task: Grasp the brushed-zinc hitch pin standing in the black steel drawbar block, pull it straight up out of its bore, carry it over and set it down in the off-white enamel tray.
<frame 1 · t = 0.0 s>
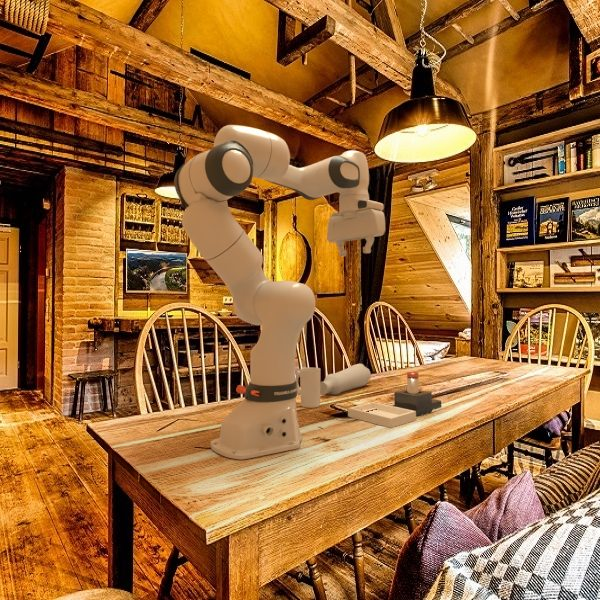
hand: (354, 254, 124), 48 cm above the table, fingers open, 8 cm apart
tray: (381, 418, 122), on the table
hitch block: (413, 411, 129), on the table
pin: (412, 392, 129), in the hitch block
bottle: (343, 391, 161), on the table
mug: (306, 405, 139), on the table
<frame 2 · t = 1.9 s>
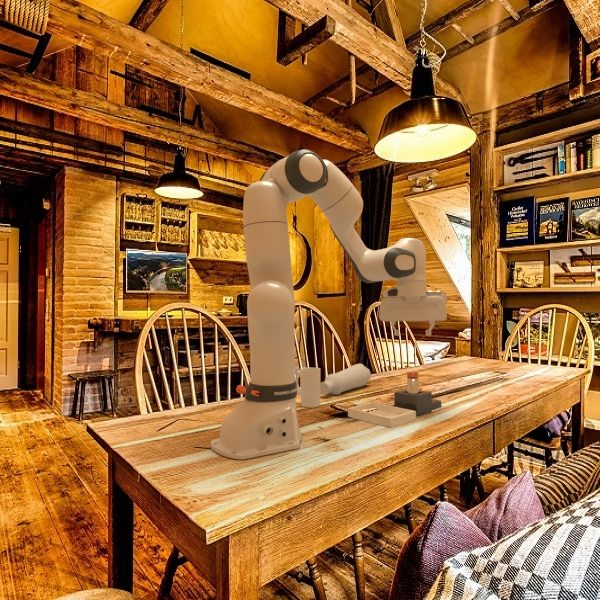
hand: (412, 335, 129), 23 cm above the table, fingers open, 8 cm apart
nothing on the table moved.
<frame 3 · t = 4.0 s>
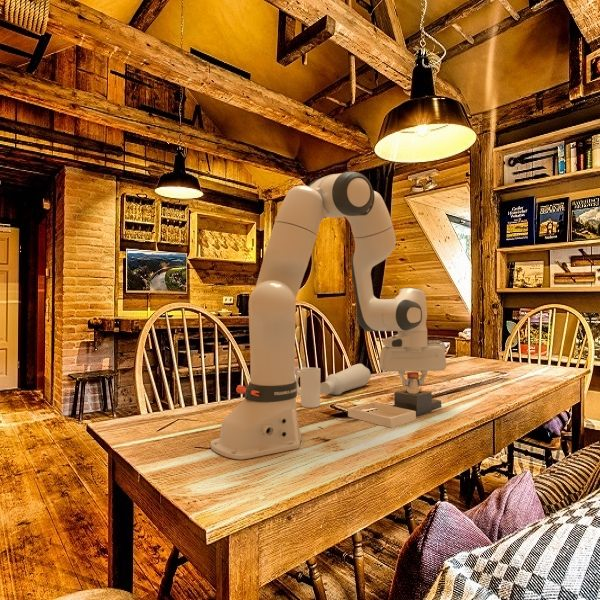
hand: (412, 385, 129), 8 cm above the table, fingers closed on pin, 3 cm apart
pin: (412, 392, 129), in the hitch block, touching gripper
everything else where it was.
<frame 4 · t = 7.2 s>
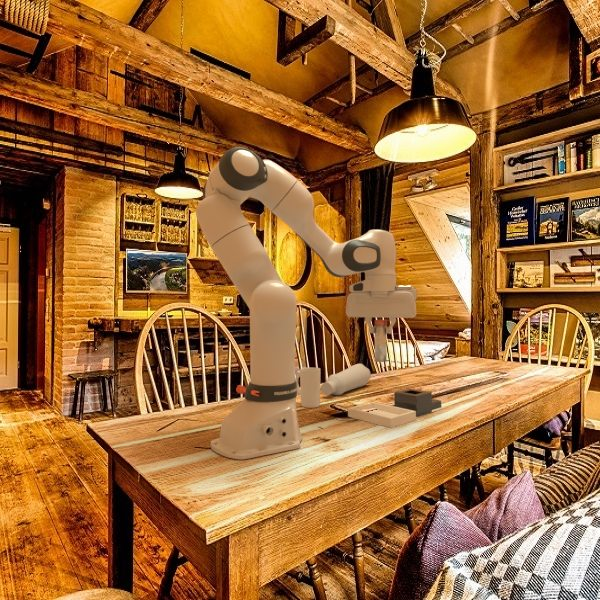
hand: (380, 333, 122), 25 cm above the table, fingers closed on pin, 3 cm apart
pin: (380, 340, 122), point 23 cm above the table, touching gripper
everything else where it was.
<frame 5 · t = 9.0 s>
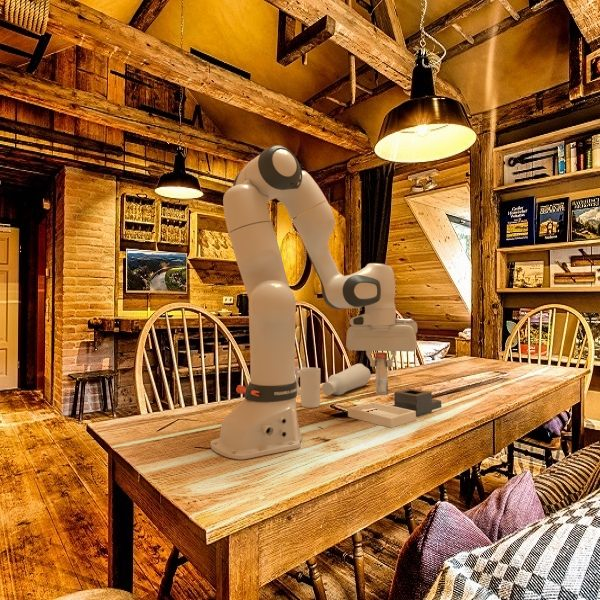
hand: (381, 366, 122), 15 cm above the table, fingers closed on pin, 3 cm apart
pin: (381, 373, 122), point 13 cm above the table, touching gripper
when the fingers open (10 cm above the table, at t = 10.4 s): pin stays where it is, resting on tray.
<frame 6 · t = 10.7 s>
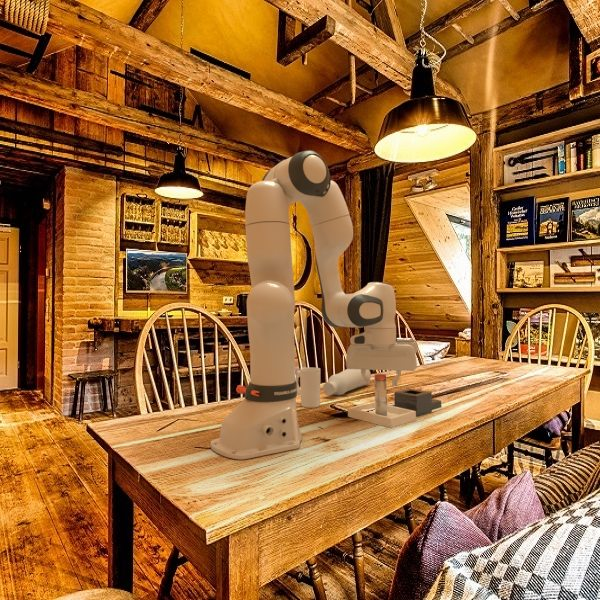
hand: (381, 385, 122), 10 cm above the table, fingers open, 6 cm apart
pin: (380, 395, 122), in the tray, point 7 cm above the table
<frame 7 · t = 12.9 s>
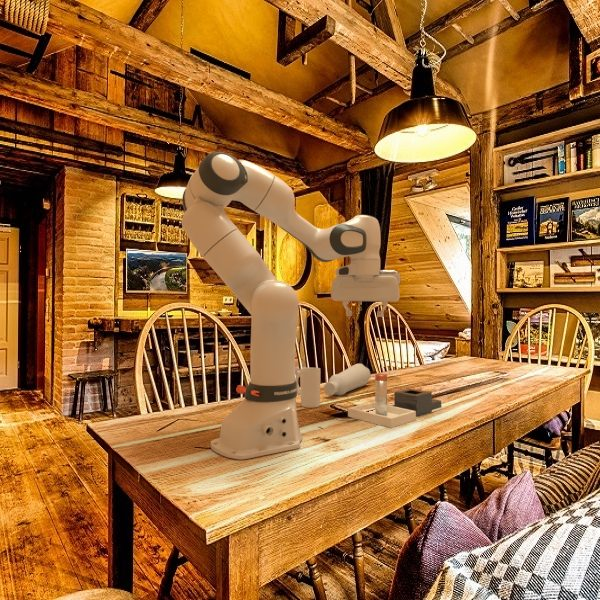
hand: (364, 316, 125), 30 cm above the table, fingers open, 8 cm apart
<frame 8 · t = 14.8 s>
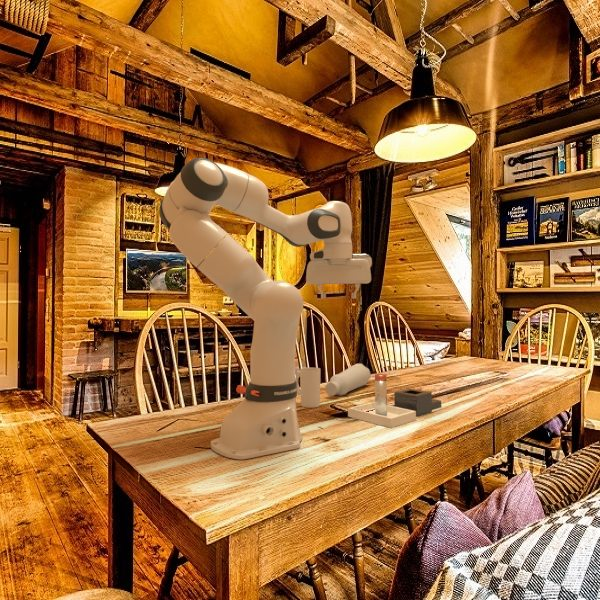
hand: (338, 298, 131), 35 cm above the table, fingers open, 8 cm apart
at the end: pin inside the target area on the tray (0.1 cm from its centre), point 6.6 cm above the tray's base; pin moved 13.3 cm from its start; the gripper is holding nothing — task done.
